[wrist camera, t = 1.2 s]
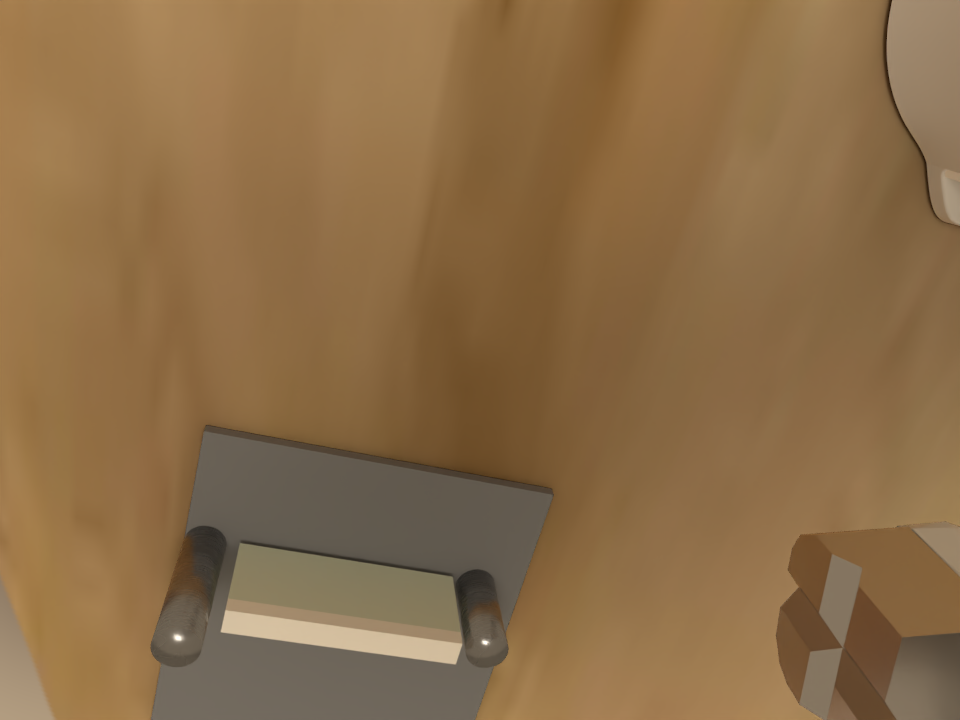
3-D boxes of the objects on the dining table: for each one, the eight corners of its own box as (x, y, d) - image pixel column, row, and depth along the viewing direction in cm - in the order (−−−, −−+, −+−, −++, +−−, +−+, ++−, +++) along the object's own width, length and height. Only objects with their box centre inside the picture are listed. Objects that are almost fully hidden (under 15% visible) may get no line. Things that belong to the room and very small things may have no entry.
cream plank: (235, 563, 44) (220, 632, 39) (240, 542, 44) (225, 610, 39) (446, 595, 46) (455, 664, 42) (452, 576, 46) (462, 643, 41)
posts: (497, 565, 47) (522, 675, 40) (487, 596, 48) (509, 709, 40) (189, 515, 44) (154, 624, 36) (183, 549, 44) (147, 663, 37)
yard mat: (551, 488, 46) (553, 494, 45) (458, 755, 52) (459, 763, 51) (206, 425, 42) (203, 431, 41) (151, 719, 48) (149, 728, 48)
